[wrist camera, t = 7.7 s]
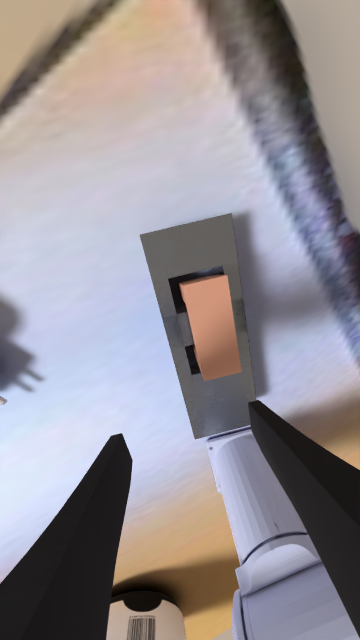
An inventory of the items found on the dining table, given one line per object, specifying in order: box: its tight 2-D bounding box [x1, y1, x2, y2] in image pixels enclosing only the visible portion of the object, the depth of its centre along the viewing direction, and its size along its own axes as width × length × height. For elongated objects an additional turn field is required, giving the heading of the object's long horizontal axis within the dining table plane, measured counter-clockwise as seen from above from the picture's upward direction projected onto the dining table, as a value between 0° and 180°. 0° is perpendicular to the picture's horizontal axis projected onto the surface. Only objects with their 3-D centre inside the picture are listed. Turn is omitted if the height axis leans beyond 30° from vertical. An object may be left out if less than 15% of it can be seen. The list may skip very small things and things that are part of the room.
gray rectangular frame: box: [140, 213, 256, 439], centre depth 17 cm, size 20×7×3 cm, turn 13°
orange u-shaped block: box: [178, 275, 242, 381], centre depth 15 cm, size 8×3×6 cm, turn 13°
